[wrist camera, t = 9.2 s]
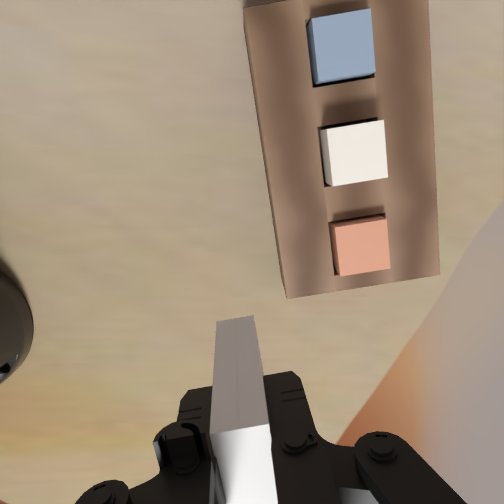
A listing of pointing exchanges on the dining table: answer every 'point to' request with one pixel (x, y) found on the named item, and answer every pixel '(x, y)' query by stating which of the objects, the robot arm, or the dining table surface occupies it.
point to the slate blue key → (341, 47)
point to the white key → (354, 153)
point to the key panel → (337, 115)
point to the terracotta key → (359, 244)
